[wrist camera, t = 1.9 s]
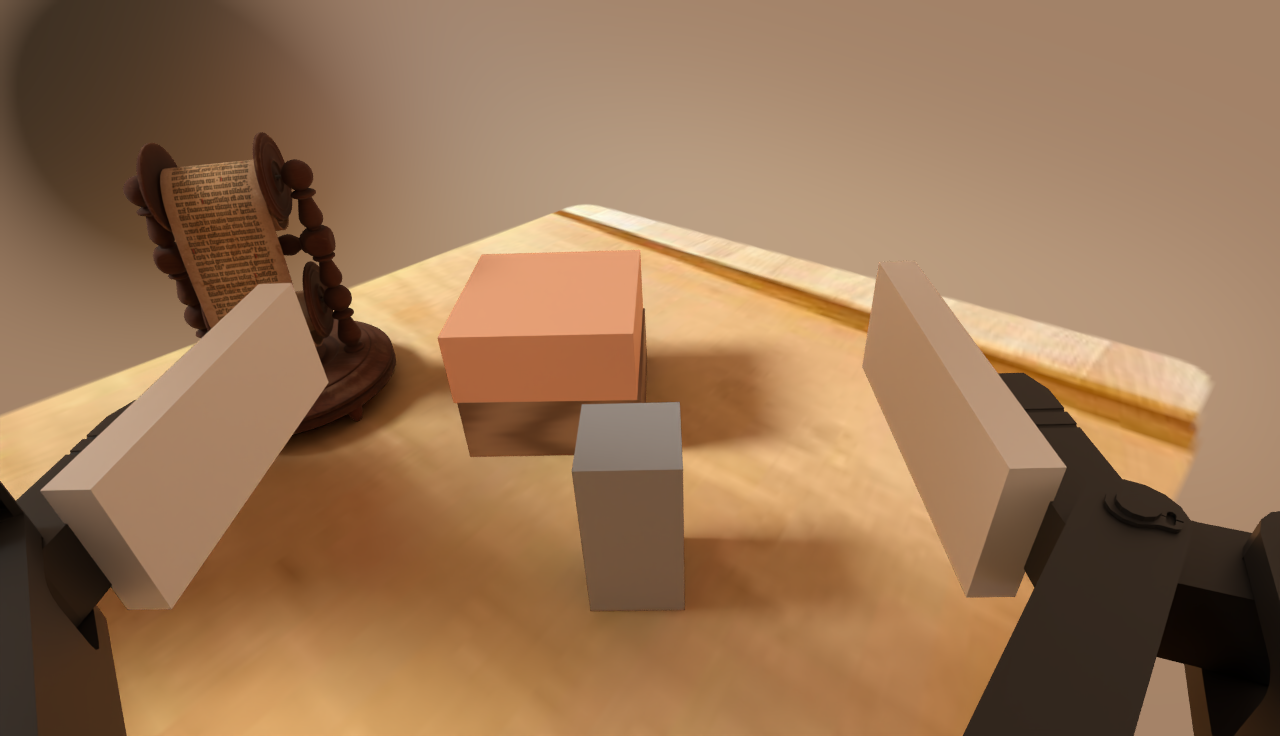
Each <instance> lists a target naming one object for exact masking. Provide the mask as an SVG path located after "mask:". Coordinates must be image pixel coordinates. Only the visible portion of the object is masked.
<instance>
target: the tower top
mask: <svg viewBox="0 0 1280 736" xmlns="http://www.w3.org/2000/svg"><path fill="white" fill-rule="evenodd" d="M642 316H643V299H642V279H641V259H640V250H626V251H590V252H555V253H519V254H483V255H481V257H480V259H479V261H478V263H477V265H476V267H475V268H474V270H473V272H472V274H471V276H470V278H469V280H468V282H467V283H466V285H465V287H464V289H463V291H462V293H461V295H460V297H459V298H458V300H457V302H456V304H455V306H454V308H453V310H452V312H451V314H450V315H449V317H448V319H447V321H446V323H445V325H444V327H443V329H442V330H441V332H440V334H439V336H438V341H439V345H440V350H441V354H442V358H443V362H444V366H445V370H446V374H447V378H448V382H449V386H450V390H451V394H452V398H453V402H454V403H476V402H545V401H607V400H637V395H638V379H639V363H640V348H641V332H642Z"/></svg>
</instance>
